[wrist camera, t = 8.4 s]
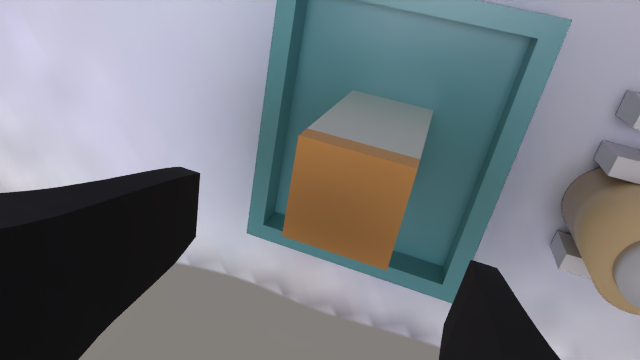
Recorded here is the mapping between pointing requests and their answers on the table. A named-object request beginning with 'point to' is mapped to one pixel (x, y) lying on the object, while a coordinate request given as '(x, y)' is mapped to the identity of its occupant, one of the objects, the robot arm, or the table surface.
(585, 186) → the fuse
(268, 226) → the tray
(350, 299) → the table surface
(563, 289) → the table surface
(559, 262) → the holder block
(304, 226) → the block
